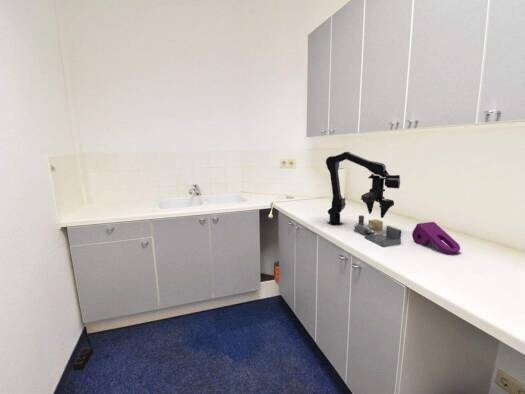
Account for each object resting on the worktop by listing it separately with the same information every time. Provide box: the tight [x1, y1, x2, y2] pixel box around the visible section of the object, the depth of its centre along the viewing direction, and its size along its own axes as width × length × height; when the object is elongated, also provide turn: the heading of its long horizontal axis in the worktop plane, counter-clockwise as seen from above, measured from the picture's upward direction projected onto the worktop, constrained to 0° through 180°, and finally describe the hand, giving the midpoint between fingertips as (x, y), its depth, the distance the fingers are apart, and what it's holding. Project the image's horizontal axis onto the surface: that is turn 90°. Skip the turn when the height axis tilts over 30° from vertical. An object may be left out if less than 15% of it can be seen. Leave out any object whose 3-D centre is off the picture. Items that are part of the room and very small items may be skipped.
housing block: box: [367, 219, 384, 232], centre depth 145 cm, size 5×5×5 cm
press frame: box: [352, 225, 402, 248], centre depth 134 cm, size 24×12×6 cm, turn 18°
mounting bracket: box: [411, 221, 461, 255], centre depth 120 cm, size 10×8×18 cm
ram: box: [355, 215, 376, 234], centre depth 139 cm, size 12×3×7 cm, turn 18°
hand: (375, 215), depth 144 cm, fingers open, 9 cm apart
